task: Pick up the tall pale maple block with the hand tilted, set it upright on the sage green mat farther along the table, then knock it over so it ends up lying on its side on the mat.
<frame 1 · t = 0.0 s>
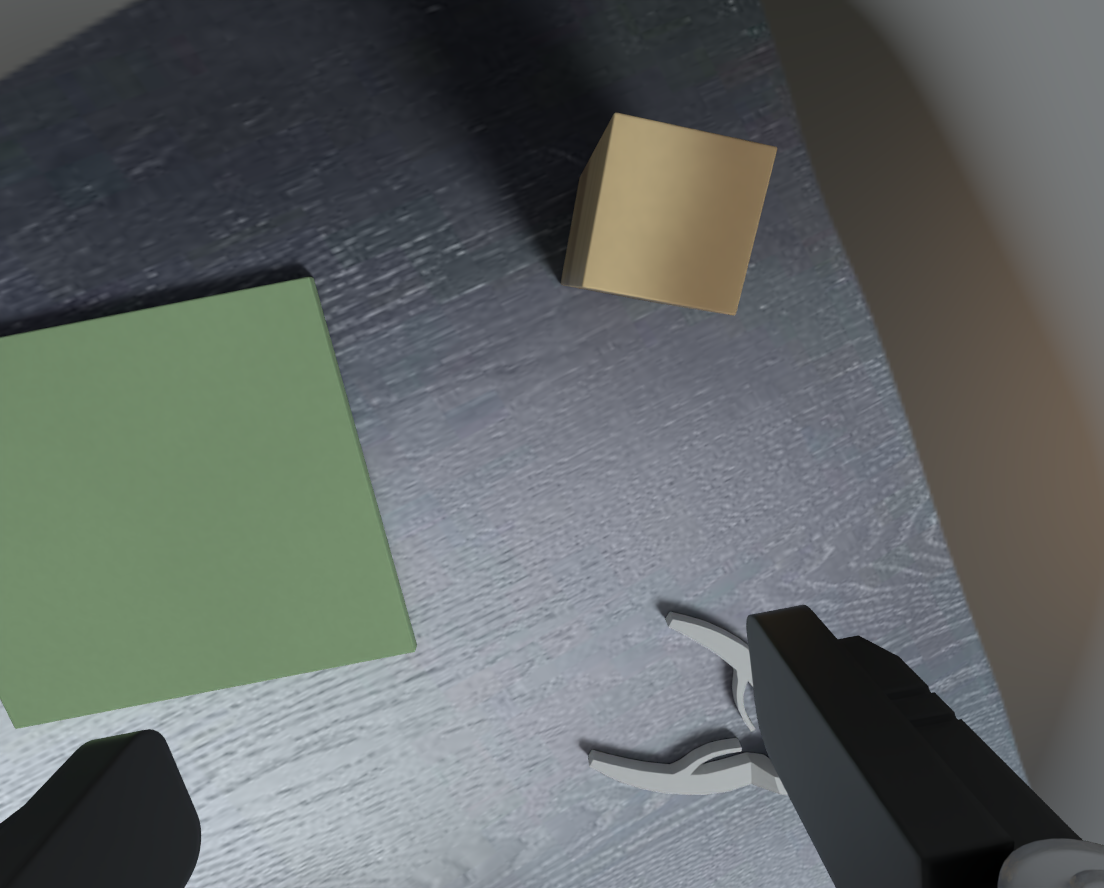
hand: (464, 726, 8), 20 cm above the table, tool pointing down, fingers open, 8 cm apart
pliers: (750, 731, 33), on the table
block: (620, 241, 26), on the table
mat: (156, 517, 28), on the table
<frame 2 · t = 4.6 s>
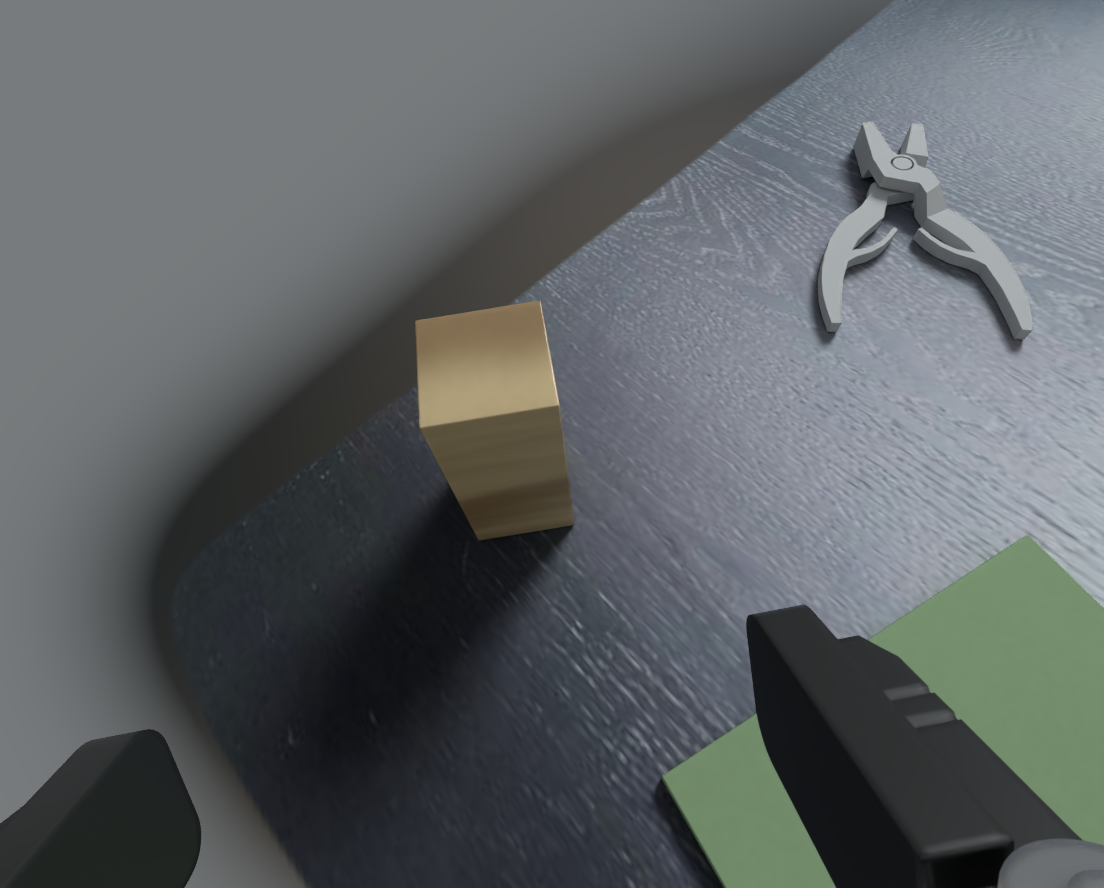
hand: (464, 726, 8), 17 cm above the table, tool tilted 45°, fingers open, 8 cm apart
pliers: (899, 233, 35), on the table
block: (520, 489, 29), on the table
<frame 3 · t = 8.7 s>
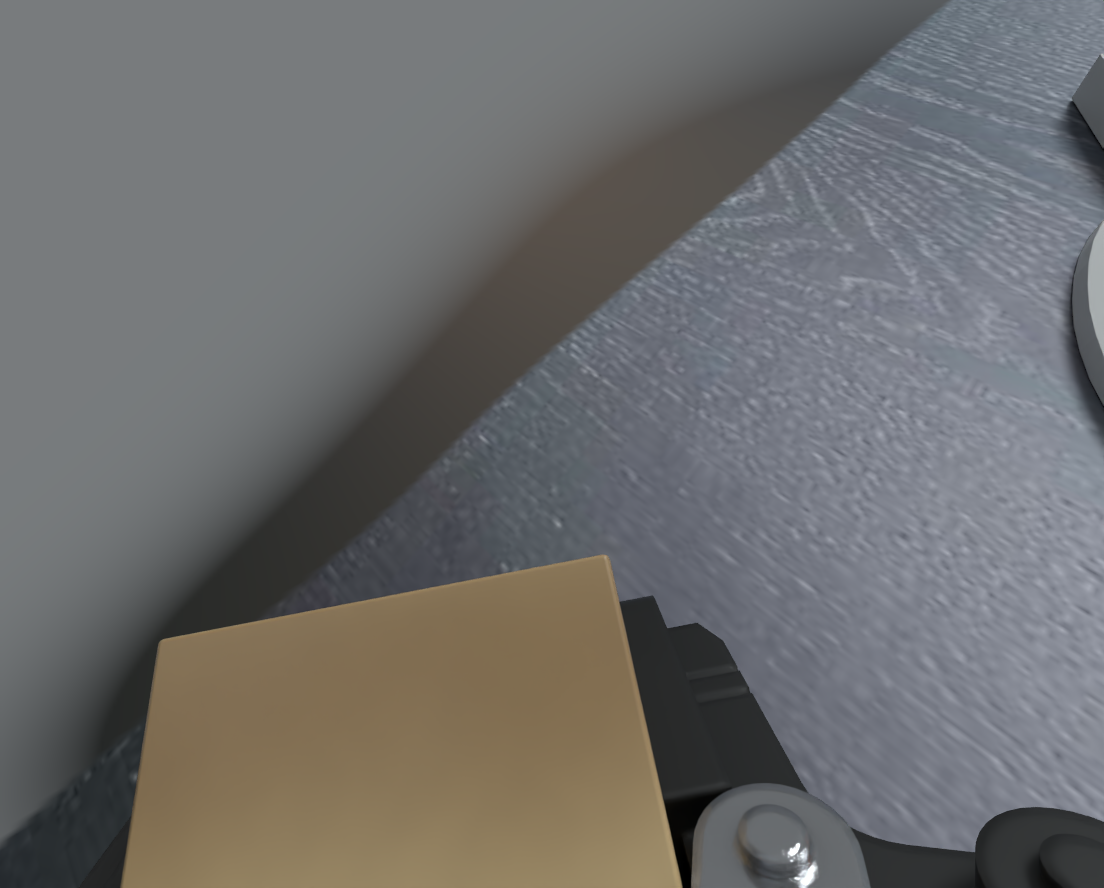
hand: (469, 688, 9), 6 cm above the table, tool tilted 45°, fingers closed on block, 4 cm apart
block: (539, 819, 13), on the table, touching gripper
when the fingers open (7 cm above the table, at t = 18.2 s): block stays where it is, resting on mat.
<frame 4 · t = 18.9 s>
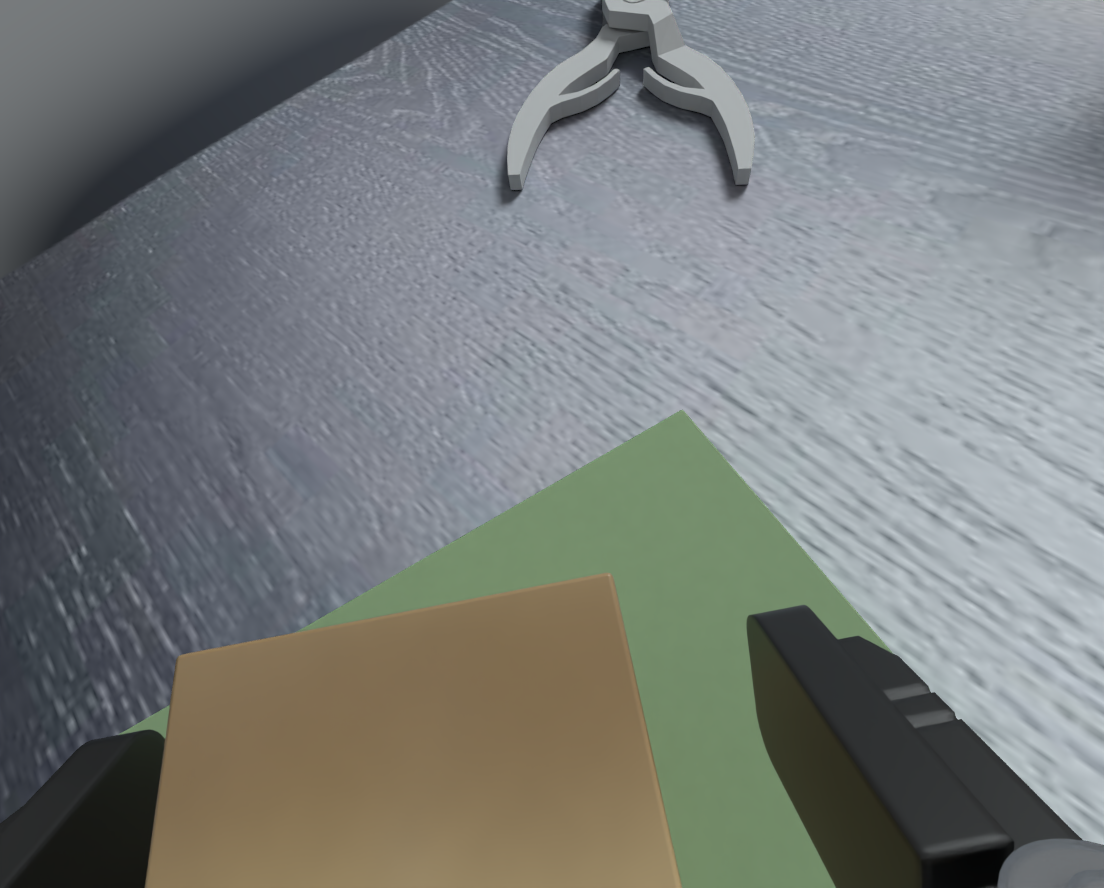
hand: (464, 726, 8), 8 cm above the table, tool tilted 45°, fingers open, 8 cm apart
pliers: (631, 81, 28), on the table
block: (542, 823, 14), point 1 cm above the table, touching mat
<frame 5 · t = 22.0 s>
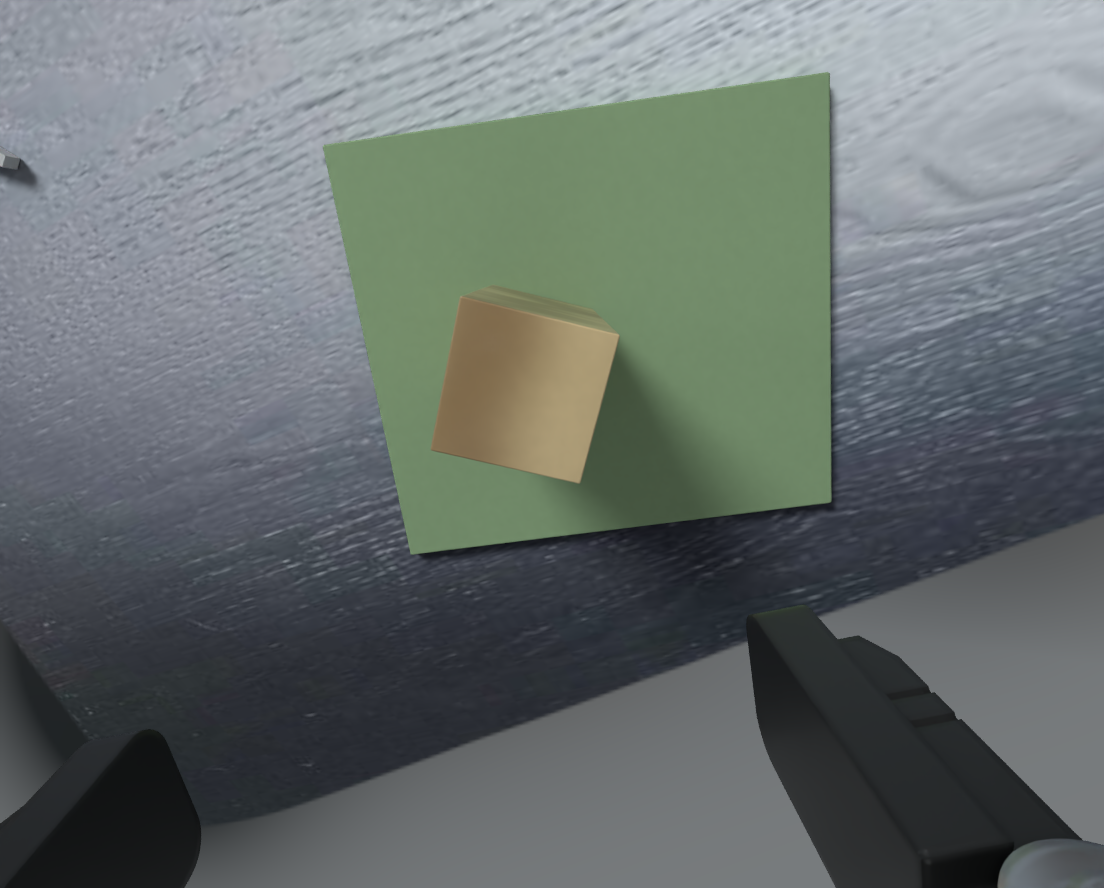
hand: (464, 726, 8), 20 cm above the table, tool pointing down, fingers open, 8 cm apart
block: (531, 347, 27), point 1 cm above the table, touching mat
mat: (597, 337, 27), on the table
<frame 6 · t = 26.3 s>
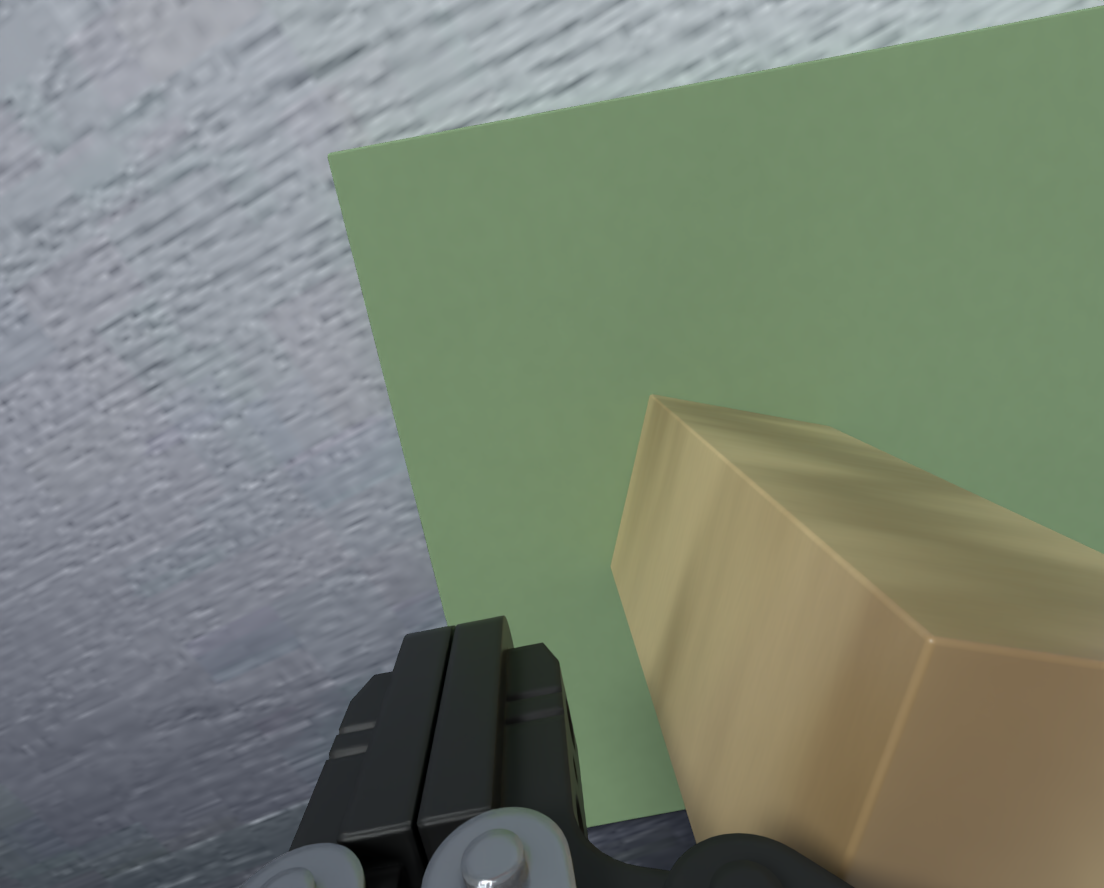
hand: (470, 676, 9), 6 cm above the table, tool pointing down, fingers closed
block: (717, 498, 15), point 1 cm above the table, touching gripper, hand, mat
mat: (824, 468, 15), on the table
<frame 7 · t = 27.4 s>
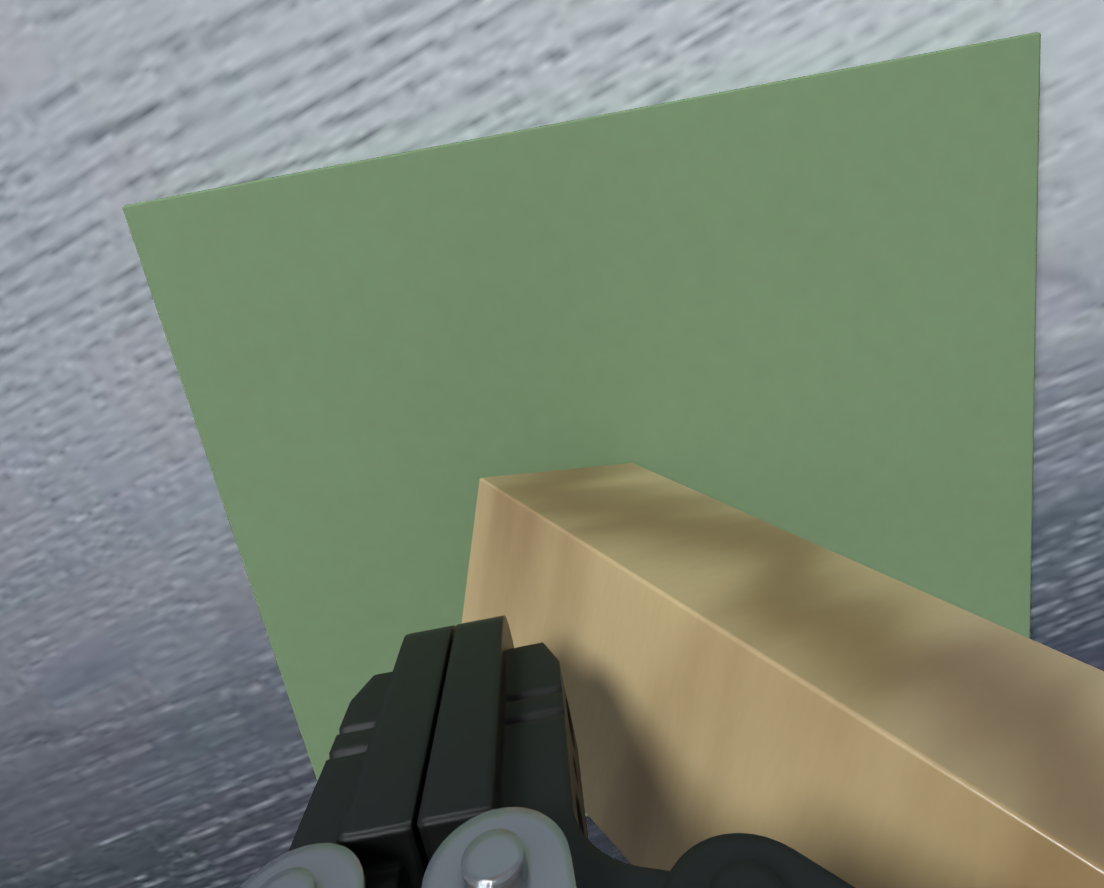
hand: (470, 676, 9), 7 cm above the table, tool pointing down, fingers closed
block: (548, 559, 14), point 2 cm above the table, tilted 36°, touching mat
mat: (637, 500, 16), on the table
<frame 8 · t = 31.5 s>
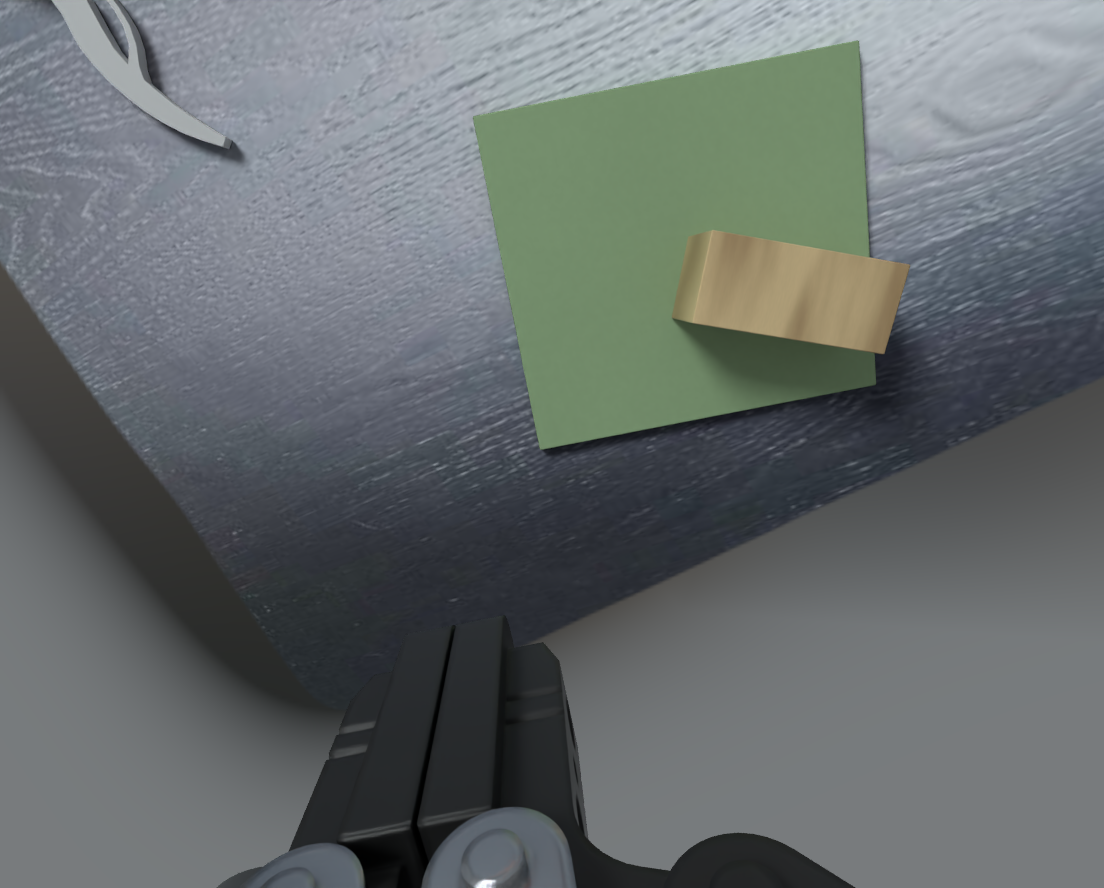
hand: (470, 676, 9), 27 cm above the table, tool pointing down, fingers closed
block: (690, 277, 32), point 3 cm above the table, tilted 90°, touching mat
mat: (685, 260, 34), on the table
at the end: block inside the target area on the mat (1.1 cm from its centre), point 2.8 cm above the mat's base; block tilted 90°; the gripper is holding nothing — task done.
